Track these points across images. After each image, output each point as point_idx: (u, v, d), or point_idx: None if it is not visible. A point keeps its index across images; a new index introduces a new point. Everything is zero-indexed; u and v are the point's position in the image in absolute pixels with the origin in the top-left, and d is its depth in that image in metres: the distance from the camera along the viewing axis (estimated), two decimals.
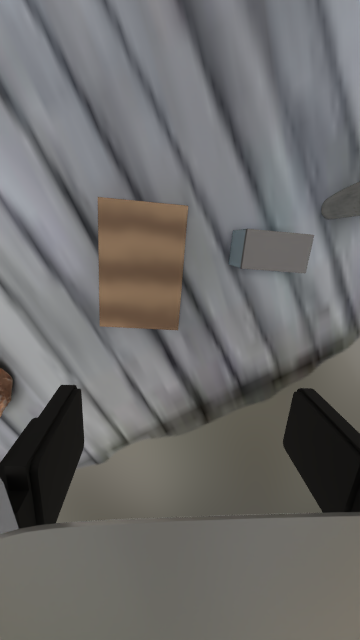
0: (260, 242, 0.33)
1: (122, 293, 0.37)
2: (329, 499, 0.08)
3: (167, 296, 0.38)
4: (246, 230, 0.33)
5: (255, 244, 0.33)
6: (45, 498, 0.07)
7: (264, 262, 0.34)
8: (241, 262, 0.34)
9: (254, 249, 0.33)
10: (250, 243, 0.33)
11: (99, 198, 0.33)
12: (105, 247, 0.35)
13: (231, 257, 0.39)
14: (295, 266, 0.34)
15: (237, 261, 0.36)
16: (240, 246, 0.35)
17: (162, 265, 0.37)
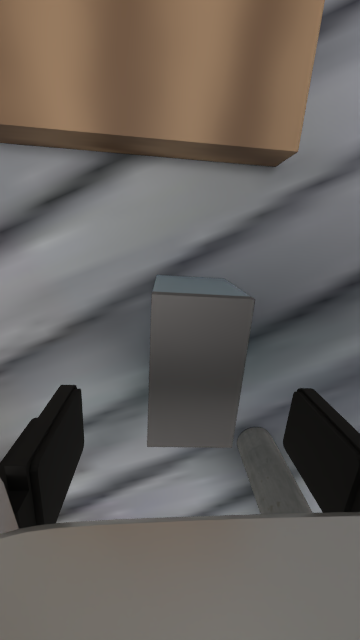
0: (219, 336, 0.13)
1: None
2: (328, 499, 0.08)
3: (53, 81, 0.12)
4: (249, 297, 0.13)
5: (215, 324, 0.13)
6: (45, 498, 0.07)
7: (169, 352, 0.13)
8: (167, 293, 0.12)
9: (202, 323, 0.12)
10: (218, 311, 0.12)
11: None
12: None
13: (172, 277, 0.17)
14: (162, 423, 0.14)
15: (167, 286, 0.14)
16: (204, 289, 0.14)
17: (146, 66, 0.12)
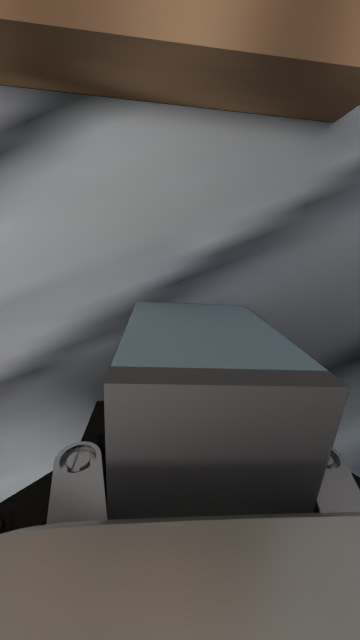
0: (264, 463, 0.06)
1: None
2: None
3: None
4: (330, 377, 0.06)
5: (255, 440, 0.05)
6: None
7: (152, 499, 0.06)
8: (144, 371, 0.05)
9: (227, 439, 0.05)
10: (263, 413, 0.05)
11: None
12: None
13: (160, 309, 0.10)
14: None
15: (148, 339, 0.07)
16: (223, 346, 0.07)
17: None
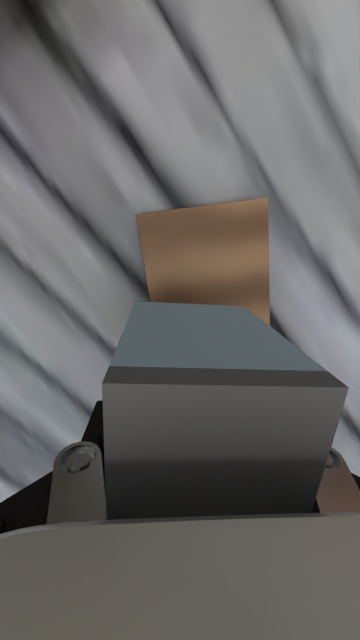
0: (262, 463, 0.06)
1: (235, 260, 0.24)
2: None
3: (166, 270, 0.24)
4: (328, 378, 0.06)
5: (254, 440, 0.05)
6: None
7: (150, 499, 0.06)
8: (143, 371, 0.05)
9: (225, 439, 0.05)
10: (262, 414, 0.05)
11: None
12: None
13: (159, 309, 0.10)
14: None
15: (147, 339, 0.07)
16: (222, 347, 0.07)
17: None
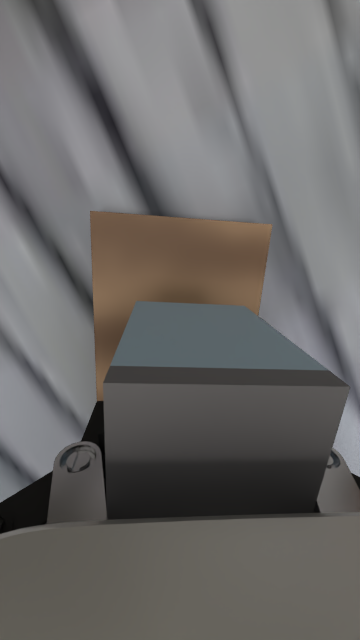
0: (264, 462, 0.06)
1: (216, 298, 0.18)
2: None
3: (122, 294, 0.18)
4: (330, 377, 0.06)
5: (255, 440, 0.05)
6: None
7: (151, 499, 0.06)
8: (144, 371, 0.05)
9: (227, 439, 0.05)
10: (263, 413, 0.05)
11: None
12: None
13: (160, 308, 0.10)
14: None
15: (148, 338, 0.07)
16: (223, 346, 0.07)
17: None
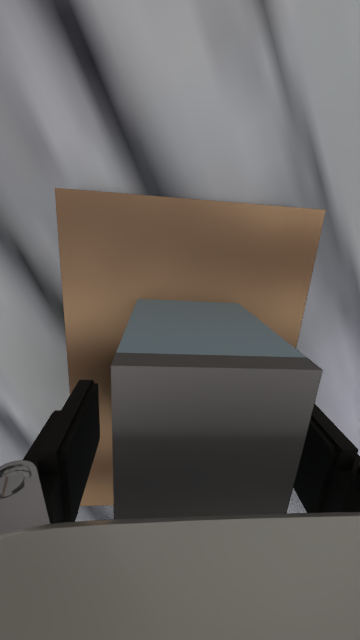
0: (250, 437, 0.07)
1: None
2: (305, 488, 0.09)
3: (106, 311, 0.12)
4: (306, 362, 0.06)
5: (241, 417, 0.06)
6: (71, 484, 0.08)
7: (152, 469, 0.07)
8: (145, 357, 0.06)
9: (217, 416, 0.06)
10: (248, 393, 0.06)
11: None
12: None
13: (159, 305, 0.11)
14: None
15: (148, 331, 0.08)
16: (215, 337, 0.08)
17: None
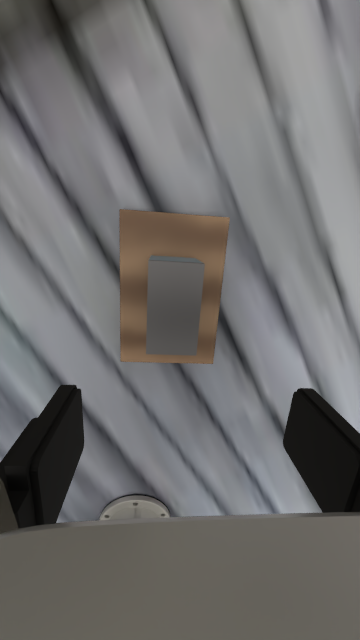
0: (186, 284, 0.23)
1: None
2: (328, 499, 0.08)
3: (137, 260, 0.29)
4: (202, 263, 0.23)
5: (183, 277, 0.23)
6: (45, 498, 0.07)
7: (158, 294, 0.23)
8: (157, 260, 0.23)
9: (176, 277, 0.23)
10: (184, 270, 0.23)
11: (211, 362, 0.33)
12: (210, 317, 0.31)
13: (160, 256, 0.28)
14: (154, 339, 0.24)
15: (157, 258, 0.24)
16: (178, 260, 0.24)
17: (145, 299, 0.30)
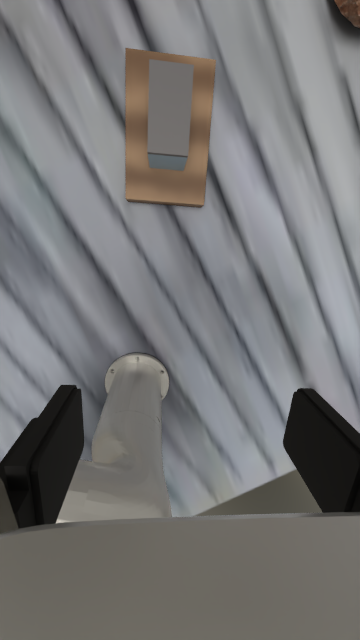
0: (179, 84, 0.29)
1: None
2: (328, 499, 0.08)
3: (140, 98, 0.35)
4: None
5: (177, 77, 0.29)
6: (45, 498, 0.07)
7: (157, 92, 0.29)
8: None
9: (171, 76, 0.29)
10: (178, 70, 0.29)
11: (202, 203, 0.39)
12: (201, 157, 0.37)
13: None
14: (154, 137, 0.30)
15: None
16: None
17: (146, 137, 0.36)
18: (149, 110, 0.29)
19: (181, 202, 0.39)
